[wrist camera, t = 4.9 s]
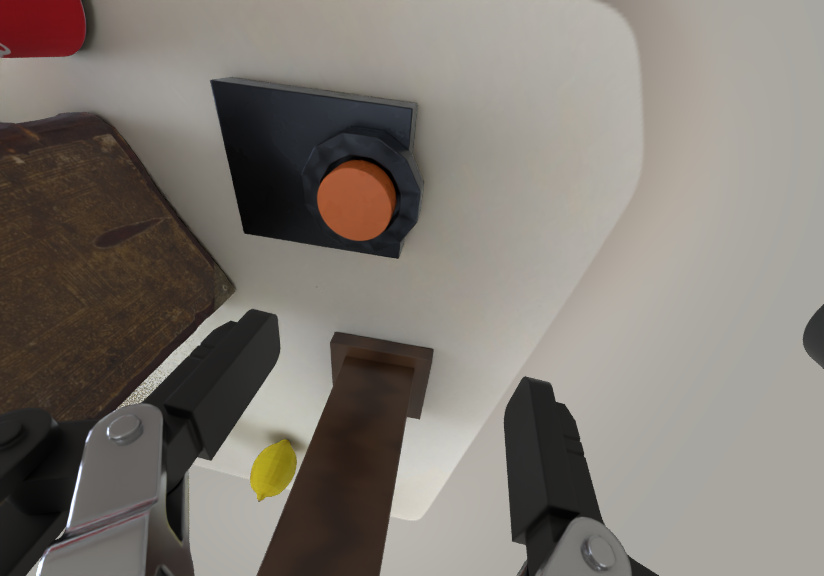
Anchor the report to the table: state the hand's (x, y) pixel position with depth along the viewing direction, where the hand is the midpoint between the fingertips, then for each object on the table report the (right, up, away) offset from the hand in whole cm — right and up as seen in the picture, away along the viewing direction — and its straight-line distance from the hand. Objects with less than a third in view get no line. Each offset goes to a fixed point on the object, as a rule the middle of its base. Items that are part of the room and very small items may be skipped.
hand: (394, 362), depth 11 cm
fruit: (-18, -20, +37) cm, 46 cm away
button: (-3, +8, +10) cm, 13 cm away
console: (-6, +11, +13) cm, 18 cm away
